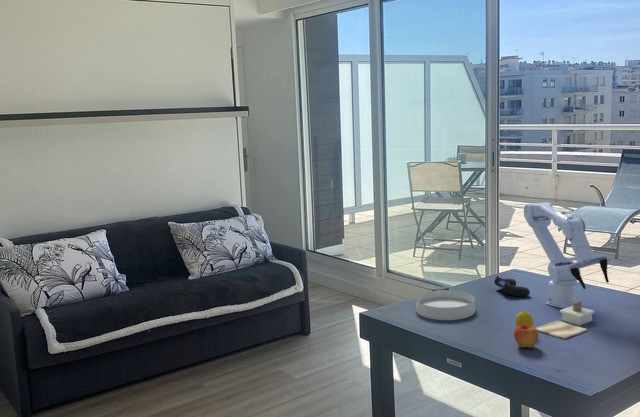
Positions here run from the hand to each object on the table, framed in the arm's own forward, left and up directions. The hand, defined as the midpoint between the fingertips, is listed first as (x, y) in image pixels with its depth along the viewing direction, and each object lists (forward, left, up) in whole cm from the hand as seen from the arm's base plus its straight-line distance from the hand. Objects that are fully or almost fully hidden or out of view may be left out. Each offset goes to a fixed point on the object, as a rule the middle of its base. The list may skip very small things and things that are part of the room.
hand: (596, 285), depth 220 cm
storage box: (-5, -3, -13) cm, 15 cm away
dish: (-44, -28, -14) cm, 54 cm away
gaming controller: (-42, +7, -14) cm, 45 cm away
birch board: (-3, -15, -13) cm, 20 cm away
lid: (-5, -3, -10) cm, 12 cm away
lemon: (-9, -26, -14) cm, 31 cm away
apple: (-1, -35, -14) cm, 38 cm away
